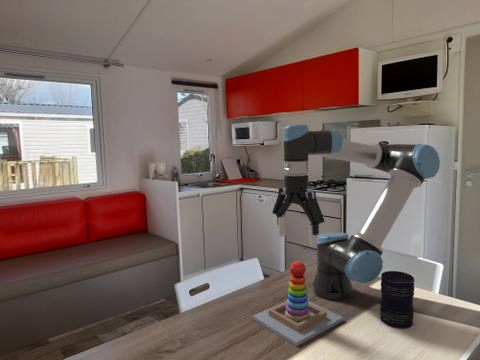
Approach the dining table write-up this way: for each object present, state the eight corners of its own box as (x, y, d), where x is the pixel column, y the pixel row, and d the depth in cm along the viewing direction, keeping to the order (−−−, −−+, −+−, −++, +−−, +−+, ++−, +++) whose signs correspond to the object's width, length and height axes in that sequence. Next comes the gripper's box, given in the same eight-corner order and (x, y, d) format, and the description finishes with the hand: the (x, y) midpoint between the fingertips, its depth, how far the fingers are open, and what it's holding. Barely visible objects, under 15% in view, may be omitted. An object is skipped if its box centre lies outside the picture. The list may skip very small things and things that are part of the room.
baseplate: (298, 299, 130) (298, 291, 130) (343, 320, 114) (343, 311, 114) (252, 319, 117) (252, 310, 116) (296, 346, 101) (296, 336, 101)
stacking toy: (309, 323, 111) (309, 267, 108) (284, 321, 112) (283, 265, 110) (309, 311, 118) (309, 258, 116) (286, 309, 120) (285, 257, 118)
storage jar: (407, 332, 106) (408, 285, 104) (375, 321, 113) (376, 277, 111) (417, 319, 114) (418, 275, 112) (386, 310, 120) (387, 268, 118)
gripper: (261, 173, 117) (262, 234, 120) (319, 178, 98) (319, 251, 100) (277, 171, 122) (278, 230, 124) (336, 176, 102) (336, 246, 105)
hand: (297, 240), depth 112 cm, fingers open, 13 cm apart
